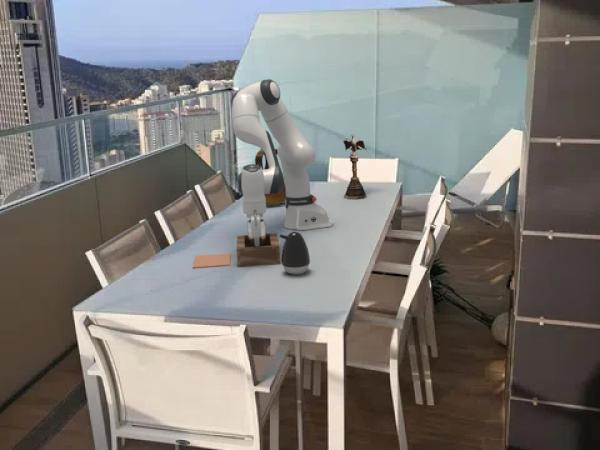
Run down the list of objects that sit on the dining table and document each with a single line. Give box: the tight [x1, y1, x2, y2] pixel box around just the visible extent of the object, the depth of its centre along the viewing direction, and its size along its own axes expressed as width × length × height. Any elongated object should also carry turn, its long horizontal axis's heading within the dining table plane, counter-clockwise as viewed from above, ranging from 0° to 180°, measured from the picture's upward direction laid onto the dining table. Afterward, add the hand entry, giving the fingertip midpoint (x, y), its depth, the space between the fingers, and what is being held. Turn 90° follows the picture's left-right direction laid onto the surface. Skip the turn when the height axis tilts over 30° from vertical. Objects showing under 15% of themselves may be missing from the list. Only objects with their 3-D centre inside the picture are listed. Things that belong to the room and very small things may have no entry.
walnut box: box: [236, 232, 281, 268], centre depth 240 cm, size 18×16×7 cm
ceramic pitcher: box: [254, 148, 286, 206], centre depth 326 cm, size 20×20×30 cm
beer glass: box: [247, 218, 267, 247], centre depth 239 cm, size 7×7×15 cm
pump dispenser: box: [279, 230, 311, 276], centre depth 221 cm, size 10×10×15 cm
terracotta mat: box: [192, 253, 231, 269], centre depth 240 cm, size 14×14×1 cm
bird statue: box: [342, 133, 368, 200], centre depth 334 cm, size 17×13×35 cm
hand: (256, 242), depth 240 cm, fingers open, 8 cm apart
